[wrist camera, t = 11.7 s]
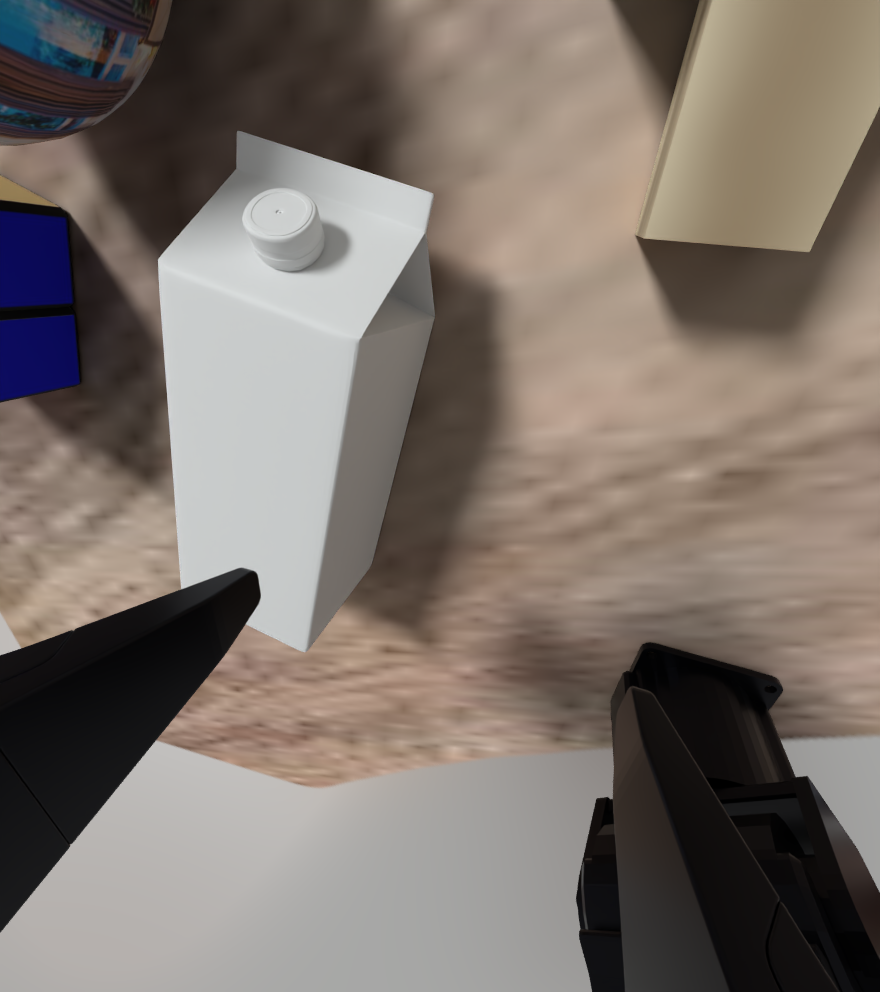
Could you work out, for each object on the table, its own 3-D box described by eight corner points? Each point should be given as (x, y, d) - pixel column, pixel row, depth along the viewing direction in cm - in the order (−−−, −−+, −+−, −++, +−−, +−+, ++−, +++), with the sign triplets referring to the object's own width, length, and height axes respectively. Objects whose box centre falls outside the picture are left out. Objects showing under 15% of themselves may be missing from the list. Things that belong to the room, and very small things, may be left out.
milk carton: (271, 523, 27) (300, 156, 17) (371, 568, 26) (463, 208, 16) (179, 594, 21) (141, 90, 11) (305, 656, 20) (387, 169, 10)
